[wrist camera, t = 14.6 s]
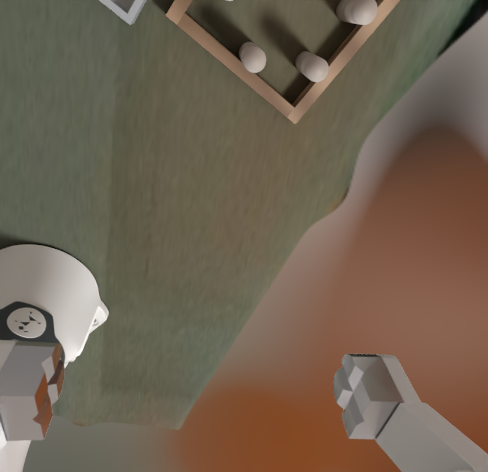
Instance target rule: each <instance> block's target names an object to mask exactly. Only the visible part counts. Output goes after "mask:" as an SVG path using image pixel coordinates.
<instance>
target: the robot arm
mask: <svg viewBox="0 0 488 472" xmlns="http://www.w3.org/2000/svg"><path fill="white" fill-rule="evenodd" d="M108 315H109V312H108V309H107V308H106V306H105V305H104V304H103V302H102V301H101V300H100V297H99V292H98V286H97V283H96V281H95V279H94V277H93V275H92V274H91V273H90V271H89V270H88V269H87V268H86V267H85V266H84V265H83V264H82V263H81V262H79V261H78V260H77V259H75V258H74V257H72V256H70V255H68V254H66V253H64V252H62V251H60V250H57V249H54V248H50V247H46V246H41V245H31V244H25V245H15V246H11V247H7V248H4V249H1V250H0V472H22V470H23V465H24V461H25V458H26V454H27V451H28V448H29V445H30V442H31V440H44V438H45V435H46V432H47V429H48V427H49V424H50V421H51V419H52V416H53V412H52V406H51V405H52V404H53V403H54V402H55V401H57V400H58V399H59V396H60V393H61V390H62V386H63V381H64V373H65V367H66V366H67V364H68V362H69V361H70V362H73V361H74V360H75V358H76V357H77V356H79V355H80V354H81V352H82V350H83V348H84V345H85V343H86V340H87V338H88V335H89V333H90V332H92V331H93V330H94V329H96V328H97V327H98V326H99V325H101V324H102V323H103V322H104V321H105V320H106V319H107V317H108ZM341 362H342V365H343V367H342V368H341V369H339V370H338V371H337V372H336V374H335V377H334V382H333V383H334V384H333V389H334V395H335V398H336V401H337V403H338V404H339V405H340V406H341V407H342V408H343V409H344V411H343V414H342V419H343V423H344V425H345V428H346V431H347V434H348V437H349V439H350V438H351V439H376V442H377V443H378V444H379V445H380V446H381V448H382V449H383V450H384V451H385V452H386V454H387V455H388V456H389V457H390V458H391V460H392V461H393V462H394V463H395V464H396V465H397V467H399V469H400V470H401V471H402V472H488V454H487V453H486V452H484V451H483V450H482V449H481V448H480V447H478V446H477V445H476V444H475V443H473V442H472V441H471V440H470V439H468V438H467V437H466V436H465V435H464V434H462V433H461V432H460V431H459V430H458V429H457V428H455V427H454V426H453V425H452V424H450V423H449V422H448V421H447V420H445V419H444V418H443V417H442V416H441V415H440V414H438V413H437V412H436V411H435V410H433V409H432V408H431V407H430V406H429V405H427V404H426V403H421V401H420V399H419V398H418V396H417V394H416V392H415V390H414V389H413V387H412V385H411V383H410V381H409V379H408V378H407V376H406V374H405V372H404V370H403V368H402V366H401V365H400V363H399V361H398V359H397V358H396V357H395V356H394V355H376V354H346V355H345V356H344V357H343V359H342V361H341Z"/></svg>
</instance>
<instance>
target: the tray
mask: <svg viewBox="0 0 488 472" xmlns="http://www.w3.org/2000/svg"><path fill="white" fill-rule="evenodd" d="M99 1H101V2H102V3H103V4H104V5H106V6H107V7H108V8H109V9H111V10H112V11H113V12H114V13H116V14H117V15H118V16H119V17H121V18H122V19H123V20H124V21H126V22H127V23H128V24H130V25H131V24H134V22H135V20H136V19H137V17H138V15H139V13H140V12H141V10H142V8H143V6H144V4H145V3H146V1H147V0H99Z"/></svg>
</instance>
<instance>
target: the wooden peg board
mask: <svg viewBox="0 0 488 472" xmlns="http://www.w3.org/2000/svg"><path fill="white" fill-rule="evenodd" d="M227 1H233V0H227ZM399 1H400V0H377V1H375V0H341V1H340V2H339V3H338V5H337V8H336V14H337V17H338V19H339V20H341V21H343V22H349V23H354V24H357V25H356V27H355V28H354V29H353V30H352V32H351V33H350V34H349V35H348V36H347V38H346V39H345V40H344V41H343V43H342V44H341V45H340V46H339V47H338V49H337V50H336V51H335V52H334V54H333V55H332V56H331V57H330V58H329V60H328V61H327V62H326V61H325V60H324V59H322V58H320V57H318V56H316V55H315V54H313V53H311V52H308V51H303V52H301V53H300V54H298V56H297V57H296V60H295V66H296V68H297V70H298V71H299V72H301V73H302V74H303V75H305V76H306V77H307V78H309V79H310V80H311V82H310V83H309V84H308V85H307V87H306V88H305V89H304V90H303V91H302V93H301V94H300V95H299V96H298V98H297V99H296V100H295V101H294V102H293V104H290V103H289V102H288V101H287V100H286V99H285V98H284V97H282V96H281V95H280V94H279V93H278V92H277V91H275V90H274V89H273V88H272V87H271V86H270V85H269V84H267V83H266V82H265V81H264V80H263V79H262V78H260V77H259V76H258V75H257V74H256V73H257V72H260V71H261V70H262V69H263V68H264V66H265V64H266V56H265V54H264V52H263V51H262V50H261V49H260V48H259V47H258V46H257V45H255V44H254V43H252V42H245V43H243V44H242V45H241V47H240V49H239V58H240V59H239V58H237V57H236V56H235V55H234V54H233V53H232V52H230V51H229V50H228V49H227V48H226V47H225V46H224V45H222V44H221V43H220V42H219V41H218V40H217V39H215V38H214V37H213V36H212V35H211V34H210V33H209V32H207V31H206V30H205V29H204V28H203V27H202V26H200V25H199V24H198V23H197V22H196V21H195V20H194V19H192V18H191V17H190V16H189V15H188V14H187V13H185V12H186V10H187V8H188V7H189V5H190V4H191V2H192V0H174V2H173V4H172V5H171V7H170V9H169V11H168V12H167V14H166V16H167V17H168V18H169V19H170V20H172V21H173V22H174V23H175V24H176V25H178V26H179V27H180V28H181V29H182V30H184V31H185V32H186V33H187V34H188V35H190V36H191V37H192V38H193V39H194V40H195V41H197V42H198V43H199V44H200V45H201V46H203V47H204V48H205V49H206V50H207V51H209V52H210V53H211V54H212V55H213V56H214V57H216V58H217V59H218V60H219V61H220V62H222V63H223V64H224V65H225V66H226V67H228V68H229V69H230V70H231V71H232V72H234V73H235V74H236V75H237V76H238V77H239V78H241V79H242V80H243V81H244V82H245V83H247V84H248V85H249V86H250V87H251V88H253V89H254V90H255V91H256V92H257V93H258V94H260V95H261V96H262V97H263V98H264V99H266V100H267V101H268V102H269V103H270V104H272V105H273V106H274V107H275V108H276V109H278V110H279V111H280V112H281V113H282V114H283V115H285V116H286V117H287V118H288V119H289V120H291V121H292V122H293V123H294V124H296V123H297V122H298V120H299V119H300V118H301V117H302V116H303V115H304V113H305V112H306V111H307V110H308V109H309V107H310V106H311V105H312V104H313V103H314V101H315V100H316V99H317V98H318V97H319V96H320V94H321V93H322V92H323V91H324V90H325V88H326V87H327V86H328V85H329V84H330V83H331V81H332V80H333V79H334V78H335V77H336V75H337V74H338V73H339V72H340V71H341V69H342V68H343V67H344V66H345V65H346V64H347V62H348V61H349V60H350V59H351V58H352V56H353V55H354V54H355V53H356V52H357V50H358V49H359V48H360V47H361V46H362V45H363V43H364V42H365V41H366V40H367V39H368V37H369V36H370V35H371V34H372V33H373V32H374V30H375V29H376V28H377V27H378V26H379V24H380V23H381V22H382V21H383V20H384V18H385V17H386V16H387V15H388V14H389V13H390V11H391V10H392V9H393V8H394V7H395V5H396V4H397V3H398V2H399Z"/></svg>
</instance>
